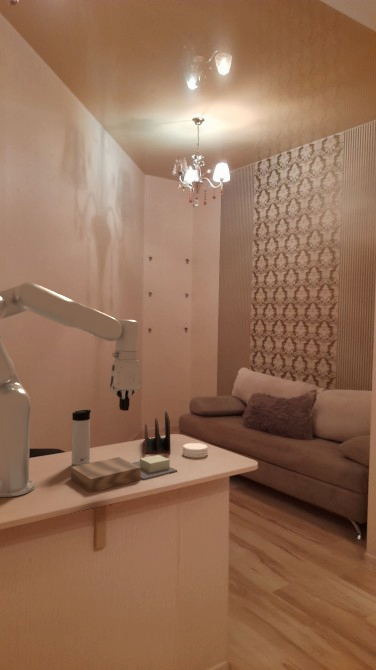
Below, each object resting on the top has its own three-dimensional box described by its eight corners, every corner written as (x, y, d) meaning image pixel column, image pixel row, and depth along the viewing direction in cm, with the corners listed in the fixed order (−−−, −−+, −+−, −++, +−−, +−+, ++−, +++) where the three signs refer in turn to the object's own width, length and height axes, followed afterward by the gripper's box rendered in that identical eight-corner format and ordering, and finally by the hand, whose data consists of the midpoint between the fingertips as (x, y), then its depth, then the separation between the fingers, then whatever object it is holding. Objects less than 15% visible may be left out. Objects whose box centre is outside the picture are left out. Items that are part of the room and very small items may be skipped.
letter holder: (166, 440, 195) (167, 408, 195) (170, 453, 175) (171, 418, 175) (144, 441, 194) (144, 409, 193) (145, 454, 174) (145, 418, 174)
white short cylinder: (178, 452, 177) (178, 444, 177) (199, 449, 182) (199, 441, 182) (190, 459, 168) (190, 450, 168) (212, 456, 173) (212, 447, 173)
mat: (143, 480, 145) (143, 478, 145) (118, 467, 157) (118, 465, 157) (177, 471, 154) (177, 470, 154) (150, 460, 166) (150, 458, 166)
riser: (90, 492, 134) (90, 479, 134) (70, 479, 145) (70, 466, 145) (140, 479, 146) (140, 467, 145) (118, 468, 156) (118, 457, 156)
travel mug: (85, 468, 155) (86, 412, 155) (68, 467, 157) (69, 410, 156) (93, 463, 161) (93, 408, 161) (76, 461, 163) (77, 407, 162)
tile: (169, 459, 156) (169, 468, 156) (158, 454, 161) (158, 462, 162) (150, 463, 151) (150, 472, 151) (139, 458, 157) (139, 466, 157)
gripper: (112, 357, 142) (110, 413, 143) (150, 356, 152) (148, 410, 152) (101, 355, 148) (99, 410, 148) (138, 355, 158) (136, 406, 158)
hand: (124, 409), depth 150 cm, fingers closed
